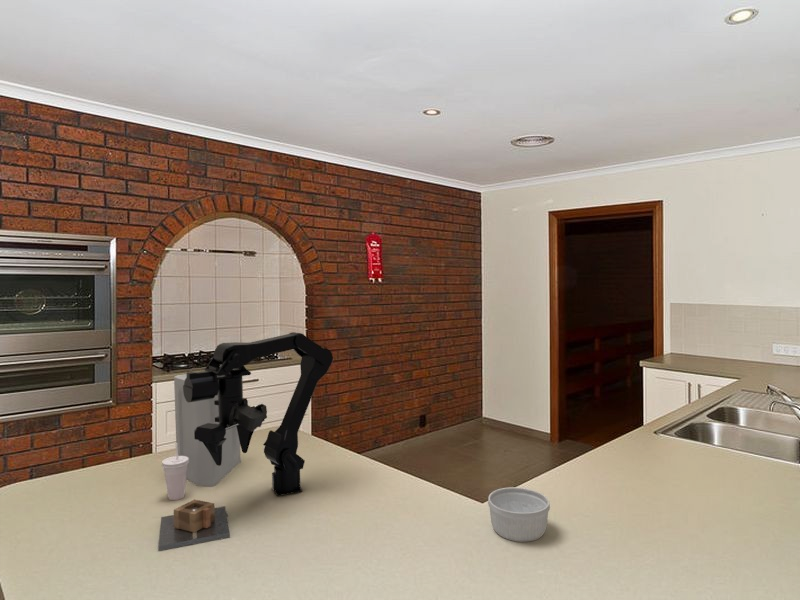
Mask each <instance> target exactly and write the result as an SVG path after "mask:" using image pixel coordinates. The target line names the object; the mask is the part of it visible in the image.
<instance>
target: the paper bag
mask: <svg viewBox="0 0 800 600" xmlns="http://www.w3.org/2000/svg"><path fill="white" fill-rule="evenodd" d="M186 378H187V373H185V374H177V375H174V377H173V381H174V383H173V384H174V385H173V386H174V413H175V416H174V417H175V418H174V420H175V442H176V443H178V456H186V457H188V458H189V463H188V464H187V474H186V481H188V482H190V483H191V484H193V485H195V486H196V487H210V488H211V487H215V486H217V485H218V483H220V482H221V481H222V480H223V479H224V478H225V477H226V476H227V475H229V473H231V472H232V471H233V469H235V468H236V467H237V466H238V465H239V464H240V463H241V446H240V441H239V436H238V431H237V427H236V426H235V427H233V428H230V429H228V430H226V434H225V436H224V438H226V440H225V441H224V443H223V444H222V462H221V465H220V466H218V465H216V463H215V461H214V460H213V458H212V456H211V454H210V453H209V451H208V449H207V448H206V446H205V445H204V444H203V442H200V441H199V440H196V439H195V437H194V430H195V429H196V428H197V427H198V426H201V425H204V424H207V423H211V424H219V422H215V417H218V416H219V413H218V405H214V401H215V400H218V395H216V396H215V397H214V398H213V399H207V400H201V401H195V402H189V403H188V402H187V401H186V399H185V397H184V393H183V385H184V382H185V379H186ZM176 443H175V444H176Z"/></svg>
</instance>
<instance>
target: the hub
mask: <svg viewBox="0 0 800 600" xmlns="http://www.w3.org/2000/svg"><path fill="white" fill-rule="evenodd" d="M196 509H198V508H197V507H194V508H191V509H189V510H196ZM158 536H159V538H158V547H157V549H158V551H159V552H160V551H166V550H169V549H175V548H179V547H180V548H181V547H186V546H192V545H197V544H201V543H207V542H212V541H216V540H217V539H218V540H222V539H221V538H223V539H227V537H228V538H230V537H231V535H230V526H229V520H228V515H227V510H226V506H225V505H224V506H219V507H215V521H214V522H212V523H211V526H210V527H208V528H202V529H200V530H198V531H196V532H191V531H186V530H182V529H177V528H174V514H172V515H165V516H161V517H160V526H159V535H158Z"/></svg>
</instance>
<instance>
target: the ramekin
mask: <svg viewBox="0 0 800 600" xmlns="http://www.w3.org/2000/svg"><path fill="white" fill-rule="evenodd" d="M487 499H488V500H487V505H488V507H489V515H490V516H489V517H490V522H491V526H492V528H493V530H494V531H495V533H497V535H499V536H501V538H503V539H505V540H506V539H507V540H509V541H512V542H513V541H514V542H521V543H526V542H534V541H536V540H539V539H540V538H541V537H542V536H543V535H544V534H545V532H547V531H546V530H547V525H548V520H549V519H548V518H549V512H550V510H551V509H550V508H551V506H550V505H551V504H550V500H549V498H548V497H547V496H545V495H544V494H543V493H541V492H539V491H537V490H533V489H531V488H527V487H525V488H524V487H516V486H515V487H509V486H508V487H503V488H498V489H496V490H493V491H491V493H489V495H488V497H487Z"/></svg>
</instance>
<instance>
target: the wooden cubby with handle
mask: <svg viewBox="0 0 800 600" xmlns="http://www.w3.org/2000/svg"><path fill="white" fill-rule="evenodd" d="M194 507H197V508H198V509H196V510H189V509H191V508H194ZM215 508H216V507H215V502H210V501H203V500H200V499H193V500H190V501H187V503H184V504H183V505H180V506H178V507H177V508H174V509H173V515H174V528H177V529H182V530H186V531H191V532H196V531H198V530H200V529H202V528H208V527H210V526H211V523H212V522H214V521H215Z"/></svg>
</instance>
